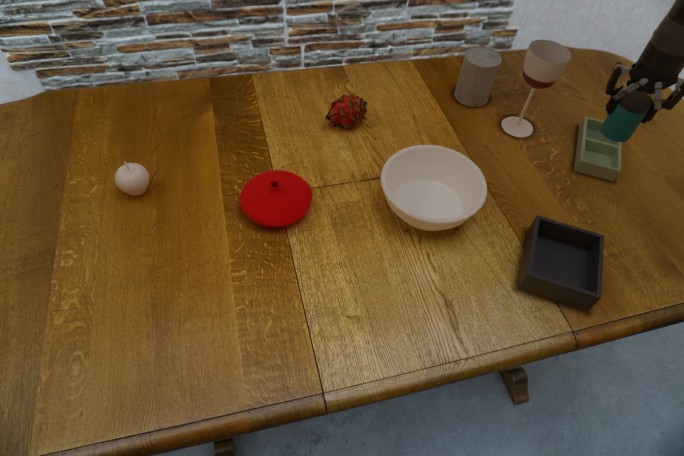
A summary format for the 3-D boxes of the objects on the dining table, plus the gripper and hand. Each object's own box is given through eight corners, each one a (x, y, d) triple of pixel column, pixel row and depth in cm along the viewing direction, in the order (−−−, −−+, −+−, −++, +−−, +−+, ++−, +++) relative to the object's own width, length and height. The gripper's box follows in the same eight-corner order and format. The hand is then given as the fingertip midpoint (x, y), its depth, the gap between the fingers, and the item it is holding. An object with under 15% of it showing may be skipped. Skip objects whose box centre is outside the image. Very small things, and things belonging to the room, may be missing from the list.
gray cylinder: (481, 111, 125) (495, 71, 115) (449, 99, 127) (459, 59, 118) (492, 92, 130) (506, 53, 120) (460, 81, 133) (471, 42, 123)
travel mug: (630, 127, 101) (653, 93, 94) (629, 145, 97) (653, 111, 90) (601, 120, 102) (621, 85, 95) (599, 137, 99) (620, 103, 92)
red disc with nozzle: (291, 244, 96) (289, 223, 91) (227, 218, 100) (221, 196, 94) (324, 193, 105) (324, 171, 99) (264, 171, 109) (261, 148, 103)
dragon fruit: (369, 122, 123) (329, 139, 121) (357, 93, 122) (316, 109, 120) (377, 114, 114) (334, 132, 112) (364, 82, 114) (320, 100, 112)
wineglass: (514, 111, 125) (545, 35, 108) (542, 130, 121) (579, 54, 103) (492, 122, 122) (520, 46, 104) (520, 143, 117) (554, 67, 100)
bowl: (445, 265, 94) (455, 241, 88) (357, 212, 102) (359, 186, 95) (494, 200, 105) (505, 174, 99) (411, 156, 113) (416, 130, 107)
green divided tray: (615, 135, 121) (622, 125, 118) (613, 181, 110) (621, 171, 108) (578, 126, 122) (584, 115, 120) (573, 170, 112) (580, 160, 109)
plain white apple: (151, 174, 107) (140, 149, 100) (156, 196, 103) (145, 171, 96) (119, 182, 105) (106, 157, 99) (123, 204, 101) (109, 179, 95)
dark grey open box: (591, 250, 98) (604, 235, 93) (587, 312, 89) (601, 298, 84) (527, 230, 100) (536, 214, 96) (516, 288, 92) (526, 274, 87)
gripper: (631, 43, 82) (588, 117, 96) (719, 63, 79) (662, 137, 93) (632, 23, 87) (591, 97, 100) (715, 41, 84) (662, 115, 97)
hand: (625, 116), depth 96 cm, fingers closed on travel mug, 6 cm apart
